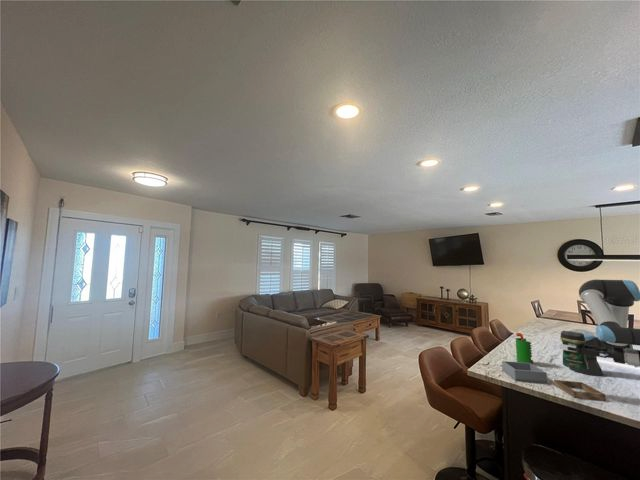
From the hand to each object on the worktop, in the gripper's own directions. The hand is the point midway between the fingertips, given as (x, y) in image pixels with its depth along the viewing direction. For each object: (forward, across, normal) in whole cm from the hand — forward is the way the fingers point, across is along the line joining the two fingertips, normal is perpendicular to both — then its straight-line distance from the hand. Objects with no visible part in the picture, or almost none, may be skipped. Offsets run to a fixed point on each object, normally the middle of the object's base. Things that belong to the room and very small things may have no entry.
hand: (561, 345), depth 141 cm
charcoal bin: (+19, +2, -23) cm, 30 cm away
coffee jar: (-5, 0, -11) cm, 12 cm away
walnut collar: (-5, 0, -23) cm, 23 cm away
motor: (+26, +34, -23) cm, 49 cm away
